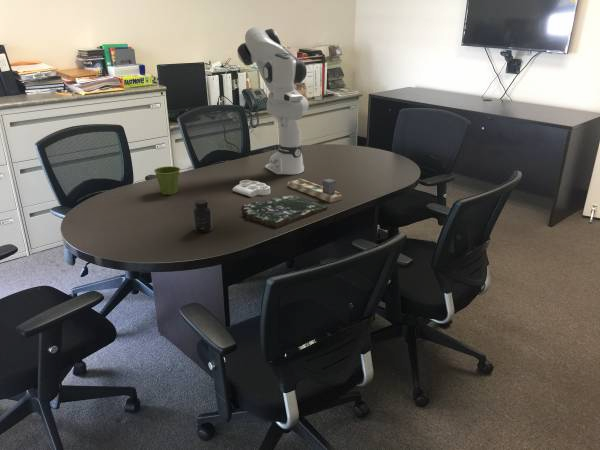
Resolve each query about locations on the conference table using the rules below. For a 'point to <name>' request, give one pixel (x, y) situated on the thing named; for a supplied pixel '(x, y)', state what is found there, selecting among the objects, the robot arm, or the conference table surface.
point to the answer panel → (314, 190)
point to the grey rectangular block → (329, 186)
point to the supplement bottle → (202, 217)
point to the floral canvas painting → (281, 210)
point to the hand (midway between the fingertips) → (284, 127)
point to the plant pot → (168, 179)
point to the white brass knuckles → (252, 188)
